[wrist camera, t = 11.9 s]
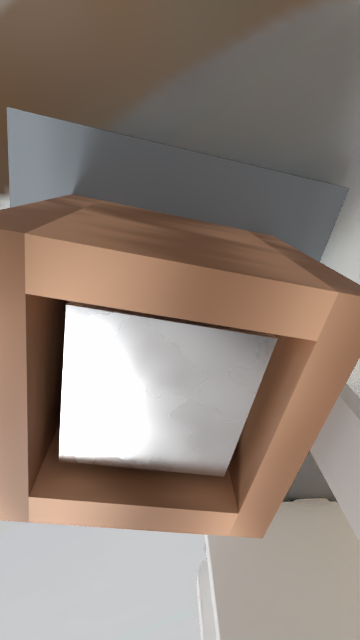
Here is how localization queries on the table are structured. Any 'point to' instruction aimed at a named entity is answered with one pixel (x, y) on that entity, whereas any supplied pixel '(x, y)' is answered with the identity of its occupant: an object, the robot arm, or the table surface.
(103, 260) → the open wooden box
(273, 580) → the cable organizer
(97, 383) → the square post
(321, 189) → the slate board
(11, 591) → the table surface
